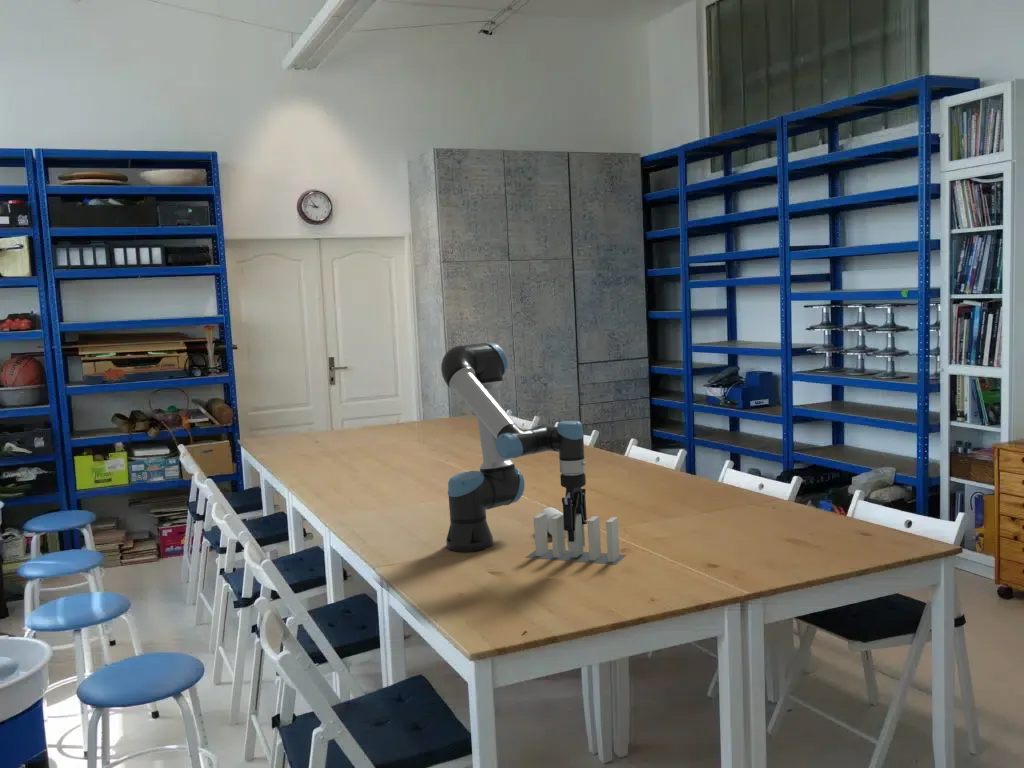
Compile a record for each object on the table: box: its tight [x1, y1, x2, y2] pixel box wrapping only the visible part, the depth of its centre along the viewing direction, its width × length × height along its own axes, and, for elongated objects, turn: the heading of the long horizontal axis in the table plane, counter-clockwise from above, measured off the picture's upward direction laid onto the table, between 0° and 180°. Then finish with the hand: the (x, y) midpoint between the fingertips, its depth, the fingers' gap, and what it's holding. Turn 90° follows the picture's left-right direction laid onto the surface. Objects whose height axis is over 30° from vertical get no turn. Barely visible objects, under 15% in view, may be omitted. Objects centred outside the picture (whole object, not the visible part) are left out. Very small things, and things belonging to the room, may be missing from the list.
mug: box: [540, 507, 568, 537], centre depth 303 cm, size 12×10×8 cm
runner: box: [524, 548, 627, 566], centre depth 275 cm, size 29×10×1 cm, turn 65°
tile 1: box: [533, 512, 549, 556], centre depth 280 cm, size 2×5×12 cm, turn 155°
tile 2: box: [551, 514, 566, 558], centre depth 277 cm, size 2×5×12 cm, turn 154°
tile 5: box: [605, 516, 620, 562], centre depth 270 cm, size 2×5×12 cm, turn 154°
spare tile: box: [571, 514, 584, 557], centre depth 274 cm, size 2×5×12 cm, turn 154°
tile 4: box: [586, 515, 602, 561], centre depth 272 cm, size 2×5×12 cm, turn 155°
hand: (576, 548), depth 275 cm, fingers closed on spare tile, 5 cm apart
